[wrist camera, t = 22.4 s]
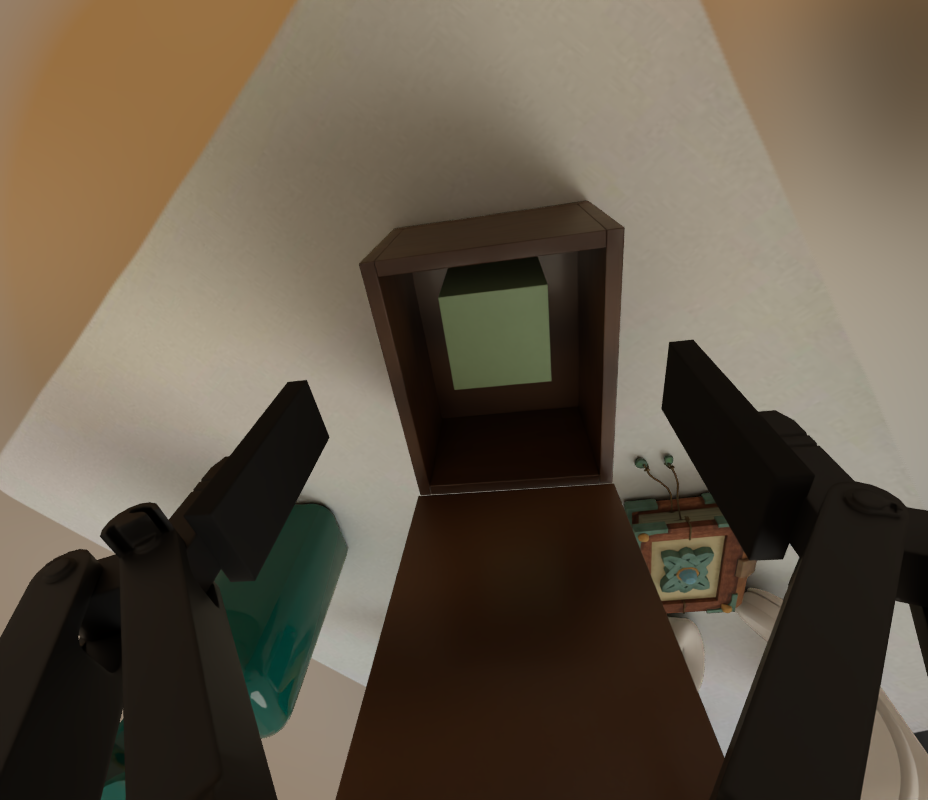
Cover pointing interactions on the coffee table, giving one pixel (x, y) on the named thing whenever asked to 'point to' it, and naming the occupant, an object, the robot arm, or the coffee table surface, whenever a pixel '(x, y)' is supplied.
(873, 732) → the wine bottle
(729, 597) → the decorative book
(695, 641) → the headphones
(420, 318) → the bin
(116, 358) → the coffee table surface
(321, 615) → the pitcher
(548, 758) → the bin lid
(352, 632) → the coffee table surface
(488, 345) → the block
